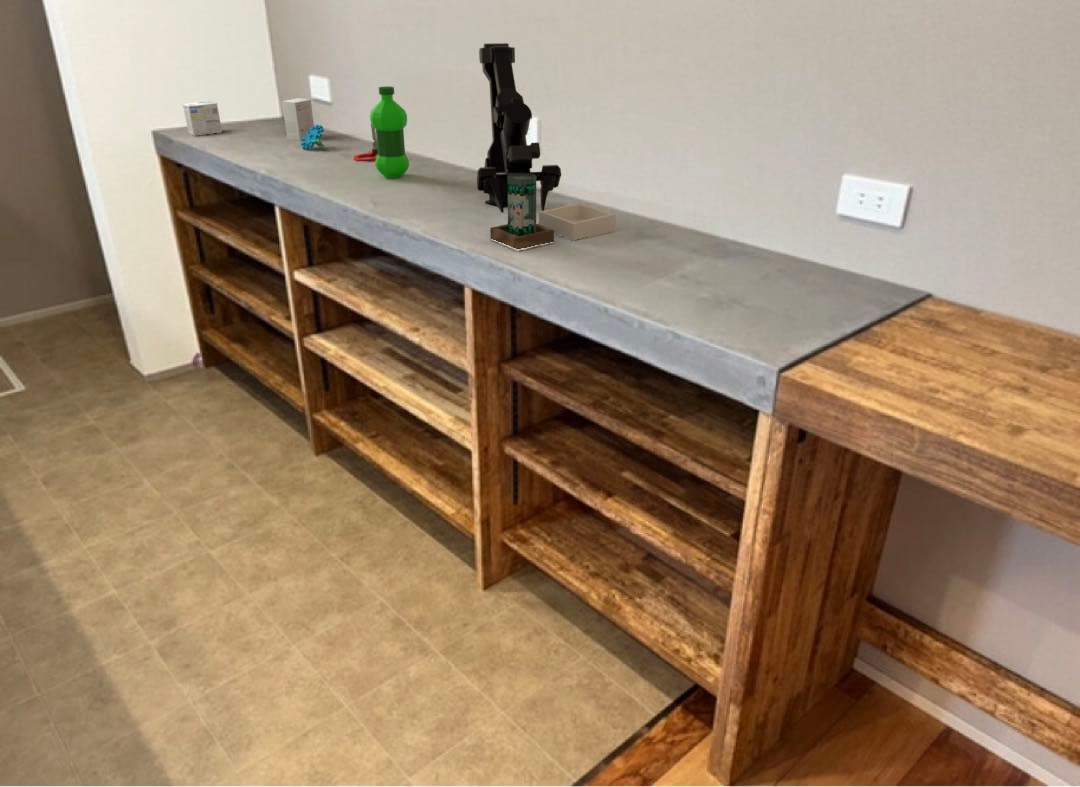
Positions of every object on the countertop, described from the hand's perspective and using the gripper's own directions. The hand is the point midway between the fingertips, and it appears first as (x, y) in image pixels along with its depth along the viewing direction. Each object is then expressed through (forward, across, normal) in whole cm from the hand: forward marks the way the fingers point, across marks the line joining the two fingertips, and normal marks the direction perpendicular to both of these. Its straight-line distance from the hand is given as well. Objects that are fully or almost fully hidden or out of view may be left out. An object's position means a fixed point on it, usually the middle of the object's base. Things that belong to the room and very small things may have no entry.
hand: (523, 210), depth 186 cm
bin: (-1, +14, +12) cm, 19 cm away
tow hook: (-63, -35, +74) cm, 103 cm away
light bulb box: (-100, -94, +112) cm, 177 cm away
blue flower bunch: (-76, -53, +88) cm, 128 cm away
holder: (+4, 0, +6) cm, 8 cm away
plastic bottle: (-45, -28, +56) cm, 77 cm away
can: (+4, 0, +6) cm, 8 cm away
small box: (-90, -59, +101) cm, 148 cm away
